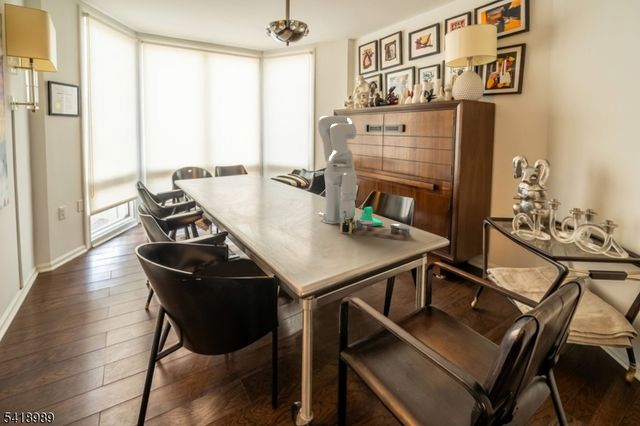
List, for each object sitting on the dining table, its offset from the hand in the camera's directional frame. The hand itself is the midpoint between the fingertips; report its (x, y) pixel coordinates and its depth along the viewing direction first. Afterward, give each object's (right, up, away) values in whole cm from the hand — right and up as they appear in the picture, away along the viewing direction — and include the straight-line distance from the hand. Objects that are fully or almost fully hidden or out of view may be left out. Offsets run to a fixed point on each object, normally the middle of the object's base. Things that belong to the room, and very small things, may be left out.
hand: (347, 230), depth 185 cm
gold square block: (0, -1, 0) cm, 1 cm away
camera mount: (+14, +2, +16) cm, 22 cm away
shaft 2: (+25, -1, -7) cm, 26 cm away
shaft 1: (+9, 0, 0) cm, 9 cm away
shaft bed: (+17, -2, -3) cm, 17 cm away
